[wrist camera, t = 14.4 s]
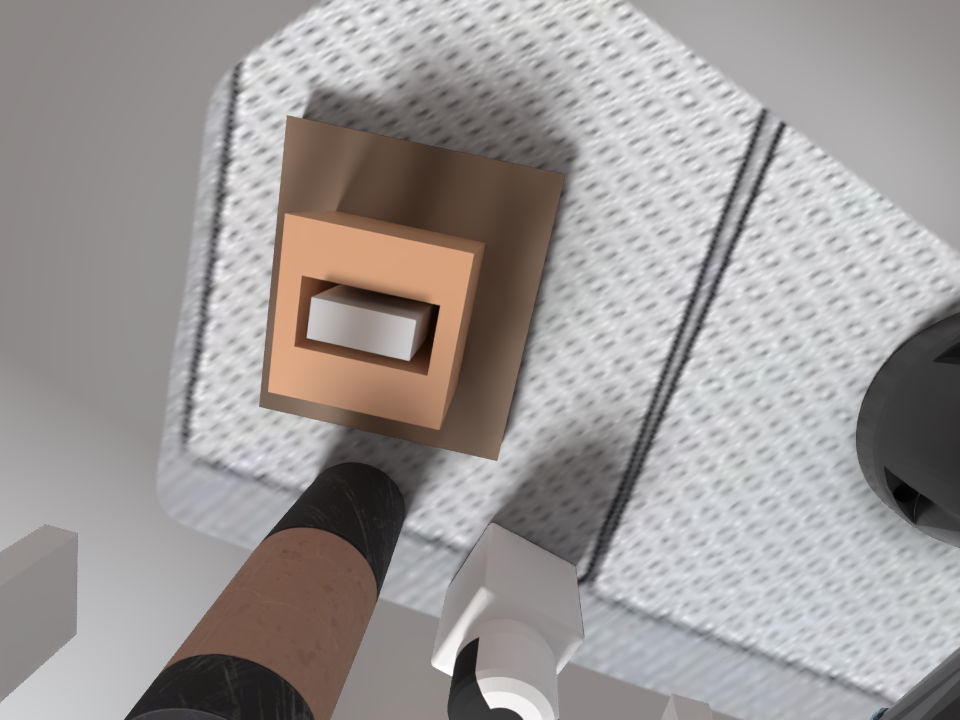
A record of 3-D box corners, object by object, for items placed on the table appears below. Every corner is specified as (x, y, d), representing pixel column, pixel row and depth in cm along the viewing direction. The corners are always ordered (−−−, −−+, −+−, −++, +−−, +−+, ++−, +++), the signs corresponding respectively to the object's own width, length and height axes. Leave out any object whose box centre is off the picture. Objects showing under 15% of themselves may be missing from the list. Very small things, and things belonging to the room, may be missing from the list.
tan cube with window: (485, 242, 32) (474, 253, 25) (457, 386, 35) (439, 430, 28) (335, 211, 32) (284, 213, 26) (318, 355, 35) (268, 391, 28)
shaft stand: (563, 176, 33) (576, 165, 23) (498, 447, 38) (488, 531, 28) (301, 120, 33) (208, 87, 24) (272, 396, 38) (186, 461, 29)
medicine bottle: (528, 633, 42) (527, 797, 30) (445, 590, 41) (412, 739, 30) (577, 565, 40) (596, 711, 28) (491, 519, 39) (474, 649, 28)
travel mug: (354, 437, 39) (180, 669, 19) (431, 511, 40) (338, 800, 21) (284, 501, 41) (64, 769, 21) (359, 570, 42) (214, 884, 22)
